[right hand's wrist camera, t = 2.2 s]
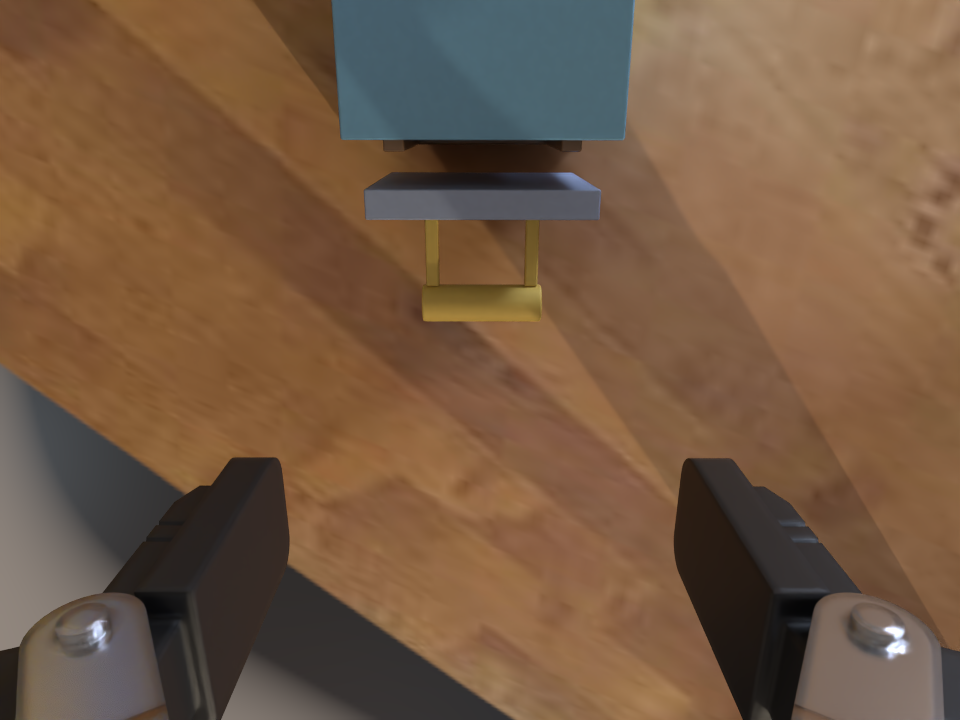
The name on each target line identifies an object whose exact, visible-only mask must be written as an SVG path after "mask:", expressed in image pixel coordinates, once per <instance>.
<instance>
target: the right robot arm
mask: <svg viewBox="0 0 960 720" xmlns="http://www.w3.org/2000/svg"><path fill="white" fill-rule="evenodd" d="M674 553H675V560H676V565H677V569H678V572H679V574H680V576H681V579H682V581H683V583H684V586H685V588H686V590H687V593H688V595H689V597H690V599H691V602H692V604H693V606H694V609H695V611H696V613H697V615H698V618H699V620H700V622H701V625H702V627H703V629H704V631H705V634H706V636H707V638H708V641H709V643H710V645H711V647H712V650H713V652H714V654H715V657H716V659H717V661H718V664H719V666H720V668H721V670H722V673H723V675H724V677H725V680H726V682H727V684H728V686H729V689H730V691H731V693H732V696H733V698H734V700H735V702H736V705H737V707H738V709H739V712H740V714H741V716H742V718H743V720H960V652H959V651H954V650H951V649H947V648H943V647H940V644H939V642H938V640H937V638H936V636H935V635H934V634H933V632H932V631H931V630H930V629H929V628H928V627H927V626H926V625H925V624H924V623H923V622H922V621H921V620H919V619H918V618H917V617H916V616H914V615H913V614H911V613H910V612H908V611H906V610H905V609H903V608H901V607H899V606H897V605H895V604H893V603H891V602H888V601H886V600H883V599H880V598H877V597H873V596H869V595H865V594H862V593H861V592H860V590H859V589H858V588H857V587H856V585H855V584H854V583H853V582H852V580H851V579H850V578H849V577H848V575H847V574H846V573H845V572H844V570H843V569H842V568H841V567H840V566H839V564H838V563H837V562H836V561H835V559H834V558H833V557H832V556H831V554H830V553H829V552H828V551H827V549H826V548H825V547H824V546H823V544H822V543H818V538H817V537H816V536H815V534H814V533H813V532H812V531H811V529H810V528H809V527H806V526H805V522H804V521H803V519H802V518H801V517H800V516H799V514H798V513H797V512H796V511H795V509H794V508H793V507H792V506H791V504H790V503H788V502H787V501H785V500H784V499H782V498H781V497H779V496H778V495H776V494H775V493H773V492H771V491H770V490H768V489H767V488H765V487H753V486H752V485H751V484H750V482H749V481H748V479H747V478H746V477H745V475H744V474H743V473H742V471H741V470H740V469H739V467H738V466H737V465H736V463H735V462H734V461H733V460H732V459H729V458H688V459H686V460H685V462H684V464H683V467H682V472H681V480H680V489H679V497H678V506H677V514H676V523H675V531H674ZM288 555H289V527H288V519H287V510H286V501H285V493H284V484H283V475H282V468H281V464H280V462H279V460H278V459H277V458H232V459H231V460H230V461H229V462H228V463H227V465H226V466H225V468H224V469H223V470H222V472H221V473H220V474H219V476H218V477H217V479H216V480H215V481H214V483H213V484H212V485H211V486H199V487H197V488H195V489H194V490H192V491H191V492H189V493H188V494H186V495H185V496H183V497H182V498H180V499H179V500H177V501H176V502H174V504H173V505H172V506H171V507H170V509H169V510H168V511H167V512H166V514H165V515H164V516H163V517H162V519H161V520H160V521H159V525H156V526H155V527H154V529H153V530H152V531H151V532H150V534H149V535H148V536H147V540H146V542H143V543H142V544H141V545H140V546H139V548H138V549H137V550H136V551H135V553H134V554H133V555H132V556H131V558H130V559H129V560H128V561H127V563H126V564H125V565H124V566H123V568H122V569H121V570H120V572H119V573H118V574H117V575H116V577H115V578H114V579H113V581H112V582H111V583H110V584H109V585H108V587H107V588H106V589H105V590H104V592H103V593H101V594H95V595H91V596H87V597H83V598H80V599H77V600H75V601H72V602H69V603H67V604H65V605H63V606H61V607H59V608H57V609H55V610H54V611H52V612H50V613H49V614H47V615H46V616H44V617H43V618H42V619H41V620H39V621H38V622H37V623H36V624H35V625H34V626H33V627H32V628H31V629H30V630H29V631H28V632H27V634H26V635H25V636H24V638H23V640H22V642H21V644H20V646H19V647H16V648H12V649H7V650H3V651H0V720H221V718H222V716H223V713H224V711H225V709H226V706H227V704H228V702H229V700H230V697H231V695H232V693H233V690H234V688H235V686H236V683H237V681H238V679H239V676H240V674H241V672H242V669H243V667H244V665H245V662H246V660H247V658H248V655H249V653H250V651H251V648H252V646H253V644H254V641H255V639H256V637H257V634H258V632H259V630H260V627H261V625H262V623H263V620H264V618H265V616H266V614H267V611H268V609H269V607H270V604H271V602H272V600H273V597H274V595H275V592H276V590H277V588H278V585H279V583H280V581H281V579H282V576H283V574H284V572H285V569H286V565H287V561H288Z"/></svg>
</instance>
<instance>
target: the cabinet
mask: <svg viewBox="0 0 960 720" xmlns="http://www.w3.org/2000/svg"><path fill="white" fill-rule="evenodd" d="M331 2H332V17H333V32H334V47H335V62H336V77H337V92H338V107H339V122H340V137H341V139H342V140H624V139H625V128H626V114H627V100H628V87H629V73H630V59H631V45H632V31H633V18H634V4H635V0H331Z"/></svg>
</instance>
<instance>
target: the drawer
mask: <svg viewBox="0 0 960 720" xmlns="http://www.w3.org/2000/svg"><path fill="white" fill-rule="evenodd" d="M418 144H546V145H549V146H551V147H553V148H556V149H558V150H560V151H563V152H579V151H581V145H582V140H383V146H384V151H405V150H407V149H409V148H411V147H414V146H416V145H418ZM600 199H601V190H600V189H598V188H596V187H595V186H593V185H591V184H590V183H588V182H586V181H585V180H583V179H582V178H580V177H578V176H577V175H575V174H573V173H427V172H392V173H390V174H388V175H387V176H385V177H384V178H382V179H380V180H379V181H377V182H376V183H374V184H373V185H371V186H369V187H368V188H366V189H365V190H364V202H365V218H366V219H367V220H425V247H426V285H423V288H422V316H423V320H424V321H540V319H541V313H542V291H541V286H540V285H537V276H538V244H539V220H599V215H600ZM438 220H526V226H525V266H524V284H525V285H439V283H440V278H439V227H438Z"/></svg>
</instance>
